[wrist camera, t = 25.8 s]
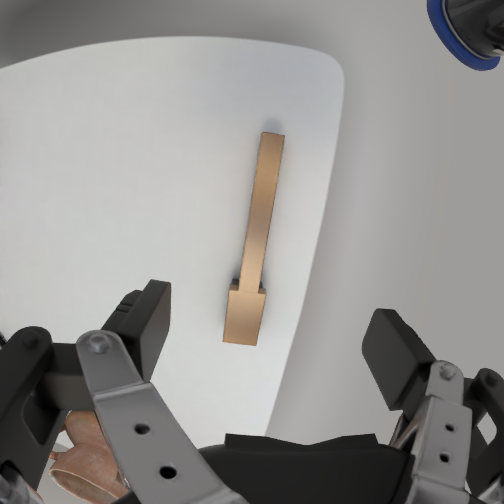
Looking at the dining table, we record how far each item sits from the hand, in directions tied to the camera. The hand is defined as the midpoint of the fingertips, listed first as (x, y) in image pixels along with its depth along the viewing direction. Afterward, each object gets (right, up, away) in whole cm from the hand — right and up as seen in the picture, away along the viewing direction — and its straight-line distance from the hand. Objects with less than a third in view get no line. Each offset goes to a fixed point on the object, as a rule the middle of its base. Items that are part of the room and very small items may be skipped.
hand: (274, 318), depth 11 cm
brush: (-1, +4, +18) cm, 18 cm away
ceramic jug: (-25, -26, +28) cm, 45 cm away
